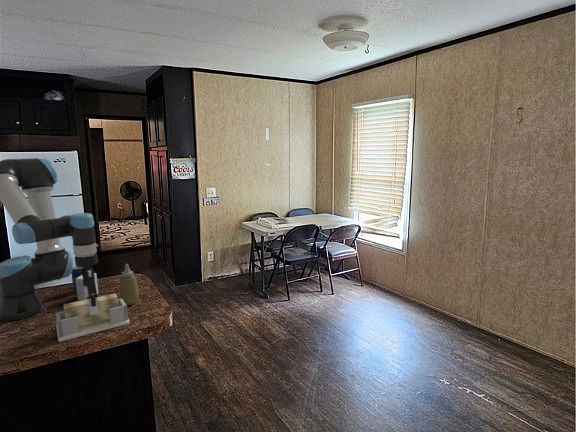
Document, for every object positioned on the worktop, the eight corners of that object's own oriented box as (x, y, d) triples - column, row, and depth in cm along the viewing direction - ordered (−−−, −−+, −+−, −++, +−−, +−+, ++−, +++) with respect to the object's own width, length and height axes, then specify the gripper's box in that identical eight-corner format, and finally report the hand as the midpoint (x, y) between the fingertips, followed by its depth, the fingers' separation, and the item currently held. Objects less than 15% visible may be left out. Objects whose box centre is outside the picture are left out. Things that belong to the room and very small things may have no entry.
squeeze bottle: (126, 308, 157) (122, 268, 154) (116, 303, 162) (112, 265, 159) (143, 302, 164) (140, 263, 160) (133, 297, 168) (130, 260, 165)
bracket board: (58, 341, 130) (56, 323, 129) (56, 328, 140) (54, 311, 138) (129, 323, 143) (128, 306, 142) (123, 312, 153) (122, 296, 152)
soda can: (72, 290, 178) (70, 266, 176) (88, 287, 182) (86, 264, 180) (74, 294, 172) (71, 270, 170) (90, 291, 176) (88, 267, 174)
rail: (66, 328, 134) (64, 308, 133) (65, 324, 138) (63, 304, 136) (119, 316, 144) (117, 297, 143) (117, 312, 148) (115, 293, 146)
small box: (87, 293, 174) (85, 272, 172) (98, 293, 173) (96, 272, 172) (77, 300, 166) (74, 278, 164) (89, 300, 166) (86, 278, 164)
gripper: (102, 260, 128) (108, 316, 132) (92, 245, 148) (97, 294, 152) (78, 264, 124) (84, 322, 128) (71, 248, 144) (77, 299, 148)
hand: (91, 307), depth 140 cm, fingers open, 13 cm apart
